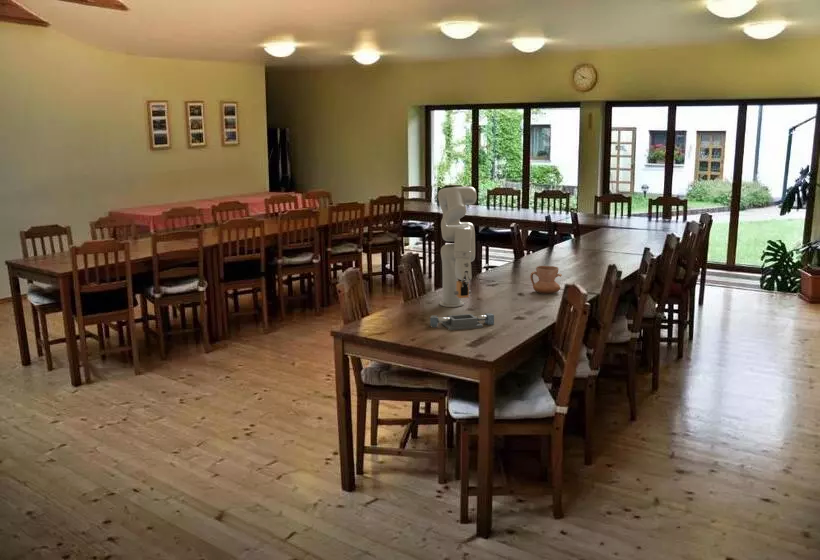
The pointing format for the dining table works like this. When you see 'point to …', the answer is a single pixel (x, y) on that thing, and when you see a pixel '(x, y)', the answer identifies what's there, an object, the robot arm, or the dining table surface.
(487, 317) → the straight shaft
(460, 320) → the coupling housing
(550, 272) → the ceramic jug
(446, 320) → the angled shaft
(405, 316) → the dining table surface
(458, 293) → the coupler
